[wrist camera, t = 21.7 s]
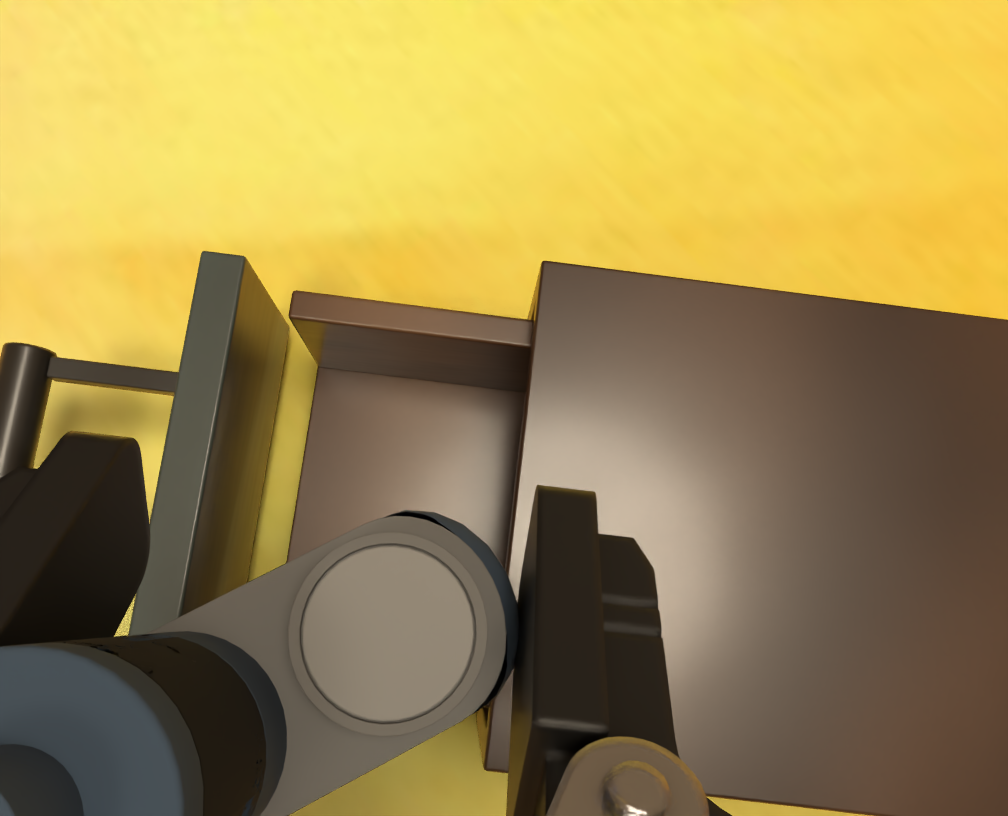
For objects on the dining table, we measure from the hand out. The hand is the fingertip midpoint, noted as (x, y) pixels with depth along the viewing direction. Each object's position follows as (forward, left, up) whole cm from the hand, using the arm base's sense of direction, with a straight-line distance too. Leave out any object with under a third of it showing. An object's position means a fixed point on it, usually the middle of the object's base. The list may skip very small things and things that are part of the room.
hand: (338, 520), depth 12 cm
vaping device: (-2, 0, -6) cm, 6 cm away
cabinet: (+2, -10, -20) cm, 23 cm away
